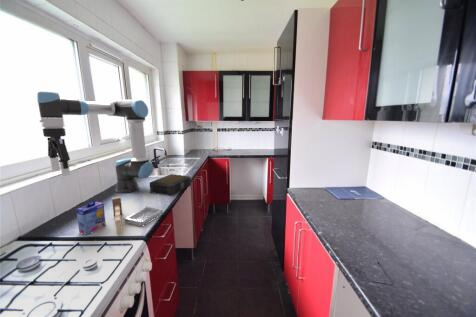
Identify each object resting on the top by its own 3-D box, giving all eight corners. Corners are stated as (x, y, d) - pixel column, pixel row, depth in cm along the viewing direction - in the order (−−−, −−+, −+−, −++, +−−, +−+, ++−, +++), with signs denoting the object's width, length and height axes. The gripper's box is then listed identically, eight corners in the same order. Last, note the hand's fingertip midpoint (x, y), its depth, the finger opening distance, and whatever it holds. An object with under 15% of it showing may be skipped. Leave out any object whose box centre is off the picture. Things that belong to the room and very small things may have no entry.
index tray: (146, 210, 117) (146, 206, 117) (162, 213, 114) (162, 209, 113) (125, 223, 103) (124, 218, 103) (142, 226, 100) (141, 222, 100)
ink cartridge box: (86, 236, 92) (82, 206, 89) (78, 233, 94) (73, 204, 91) (107, 225, 101) (103, 198, 98) (99, 223, 103) (95, 196, 100)
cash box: (172, 196, 139) (171, 185, 138) (149, 192, 146) (148, 182, 145) (192, 185, 162) (192, 176, 161) (171, 182, 169) (171, 173, 168)
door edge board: (114, 214, 112) (112, 197, 110) (122, 213, 114) (120, 196, 112) (114, 235, 93) (112, 215, 91) (124, 232, 95) (122, 213, 93)
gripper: (34, 127, 95) (42, 170, 99) (51, 128, 82) (60, 179, 86) (55, 126, 101) (61, 167, 105) (74, 128, 88) (81, 175, 92)
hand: (61, 173), depth 96 cm, fingers open, 13 cm apart
